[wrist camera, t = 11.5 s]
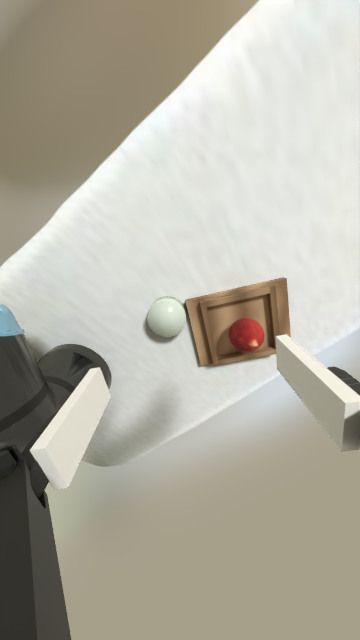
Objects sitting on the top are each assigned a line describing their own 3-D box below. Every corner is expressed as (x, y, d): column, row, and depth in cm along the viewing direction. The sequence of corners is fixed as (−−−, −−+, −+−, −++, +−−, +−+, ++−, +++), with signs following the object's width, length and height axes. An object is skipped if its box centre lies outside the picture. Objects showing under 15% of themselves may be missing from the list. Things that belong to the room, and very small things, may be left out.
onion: (237, 346, 40) (249, 369, 33) (219, 326, 39) (227, 344, 31) (262, 328, 39) (280, 347, 31) (244, 306, 38) (258, 321, 30)
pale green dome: (155, 334, 41) (153, 340, 38) (145, 301, 39) (142, 305, 36) (189, 326, 41) (189, 332, 38) (181, 292, 38) (180, 296, 35)
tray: (200, 362, 43) (201, 370, 41) (185, 299, 39) (185, 303, 36) (288, 345, 41) (295, 352, 39) (283, 277, 37) (290, 279, 34)
